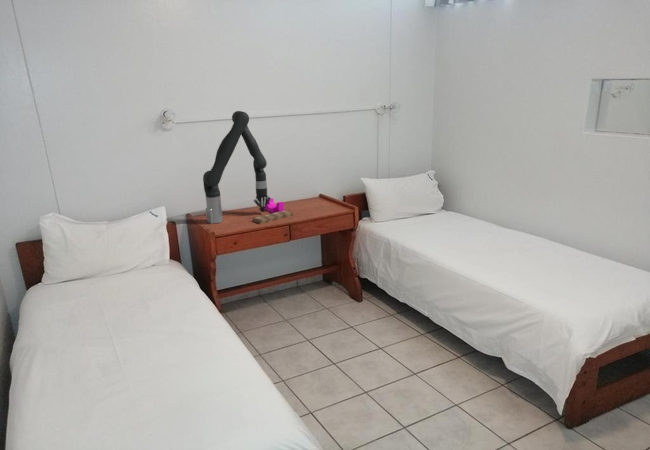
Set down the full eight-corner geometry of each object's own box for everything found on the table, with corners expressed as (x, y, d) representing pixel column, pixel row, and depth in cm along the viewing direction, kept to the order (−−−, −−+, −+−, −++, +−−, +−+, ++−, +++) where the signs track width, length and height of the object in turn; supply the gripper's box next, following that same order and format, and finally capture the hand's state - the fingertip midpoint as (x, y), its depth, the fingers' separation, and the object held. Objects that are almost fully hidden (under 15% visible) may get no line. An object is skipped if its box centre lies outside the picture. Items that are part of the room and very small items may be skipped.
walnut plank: (260, 224, 299) (260, 220, 298) (252, 221, 305) (252, 217, 304) (292, 215, 315) (292, 212, 314) (284, 213, 321) (284, 210, 321)
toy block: (264, 210, 331) (263, 199, 328) (271, 208, 334) (271, 198, 332) (276, 214, 320) (275, 203, 317) (283, 212, 323) (283, 202, 321)
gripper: (256, 189, 307) (257, 214, 313) (272, 186, 316) (273, 211, 321) (249, 187, 313) (251, 212, 318) (266, 184, 321) (267, 208, 326)
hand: (262, 211), depth 319 cm, fingers closed
